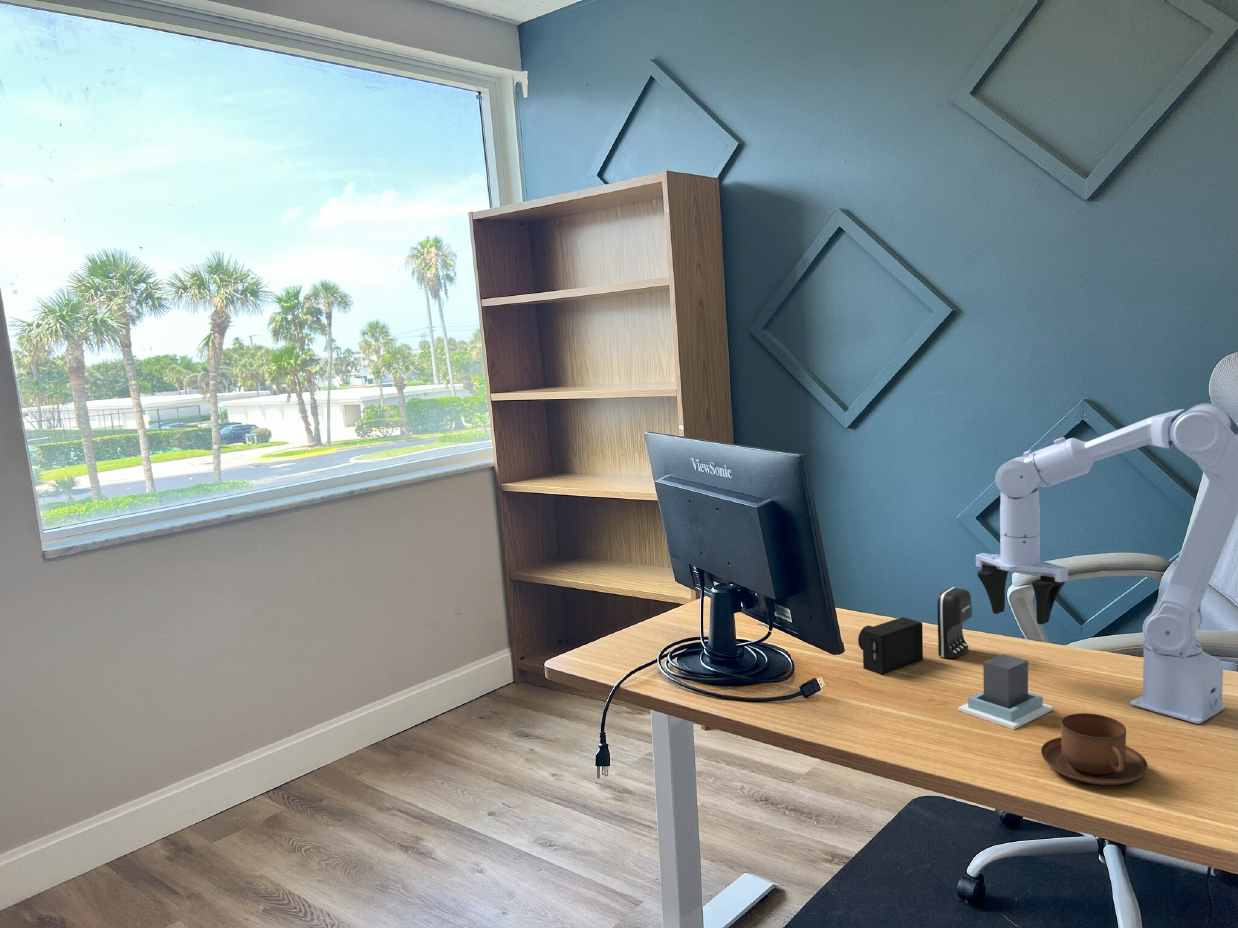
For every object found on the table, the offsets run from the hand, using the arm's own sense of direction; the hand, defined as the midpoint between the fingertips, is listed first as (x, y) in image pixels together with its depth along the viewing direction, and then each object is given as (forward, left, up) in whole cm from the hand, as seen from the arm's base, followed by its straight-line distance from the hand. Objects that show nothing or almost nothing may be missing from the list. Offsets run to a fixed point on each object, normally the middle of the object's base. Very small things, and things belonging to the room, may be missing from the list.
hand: (1020, 617), depth 145 cm
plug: (-5, +12, -10) cm, 16 cm away
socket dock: (-5, +12, -10) cm, 17 cm away
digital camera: (+19, +8, -11) cm, 23 cm away
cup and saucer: (-22, +20, -11) cm, 32 cm away
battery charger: (+14, -3, -11) cm, 18 cm away
